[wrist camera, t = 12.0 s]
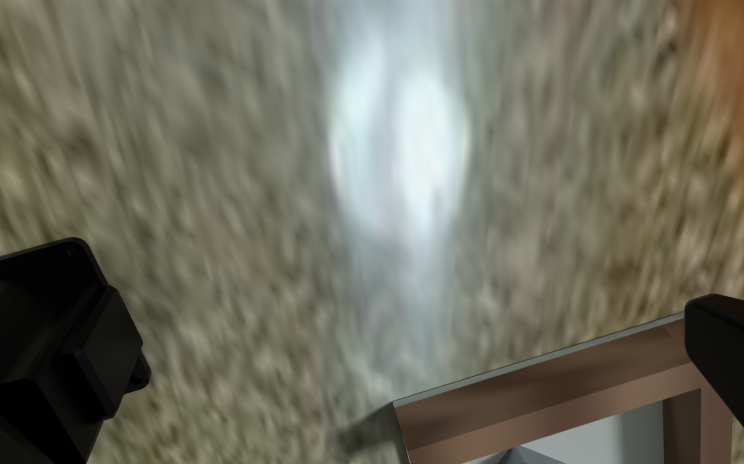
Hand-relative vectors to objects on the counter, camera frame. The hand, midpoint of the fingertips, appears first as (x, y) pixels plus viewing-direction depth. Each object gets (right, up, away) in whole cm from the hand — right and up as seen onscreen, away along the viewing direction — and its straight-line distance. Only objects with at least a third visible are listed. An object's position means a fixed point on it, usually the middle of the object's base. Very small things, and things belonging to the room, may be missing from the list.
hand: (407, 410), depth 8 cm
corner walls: (+9, -9, +20) cm, 23 cm away
